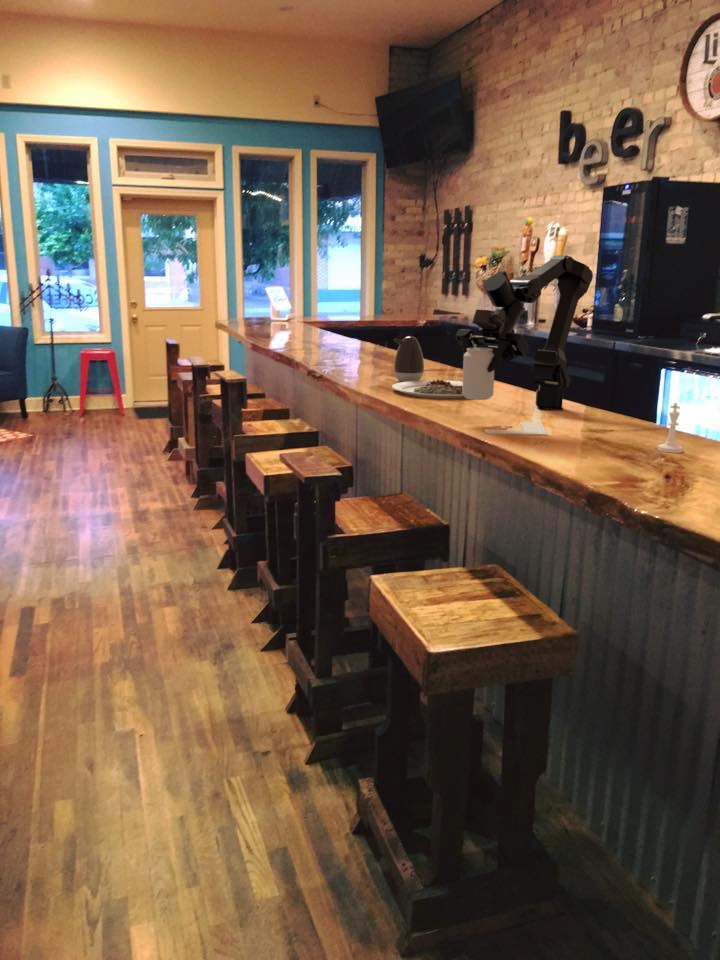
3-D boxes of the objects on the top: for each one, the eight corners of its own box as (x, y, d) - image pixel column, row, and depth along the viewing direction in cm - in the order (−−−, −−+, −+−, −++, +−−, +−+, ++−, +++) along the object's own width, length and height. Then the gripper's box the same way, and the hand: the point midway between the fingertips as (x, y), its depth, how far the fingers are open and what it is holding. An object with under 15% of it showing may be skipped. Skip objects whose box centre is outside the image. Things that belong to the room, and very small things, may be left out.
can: (478, 401, 183) (481, 350, 180) (455, 397, 189) (457, 347, 185) (499, 398, 188) (502, 348, 185) (476, 394, 193) (478, 345, 190)
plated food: (418, 403, 220) (418, 391, 219) (376, 388, 247) (376, 377, 246) (508, 398, 231) (509, 386, 230) (459, 384, 258) (459, 374, 257)
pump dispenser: (389, 379, 264) (390, 334, 260) (419, 379, 266) (420, 334, 262) (396, 384, 254) (397, 337, 250) (427, 383, 256) (428, 337, 252)
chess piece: (662, 446, 167) (667, 400, 164) (685, 449, 164) (691, 403, 161) (654, 450, 163) (659, 403, 160) (678, 453, 160) (684, 406, 157)
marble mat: (540, 424, 190) (540, 422, 190) (547, 435, 176) (547, 434, 176) (482, 422, 191) (482, 420, 191) (485, 433, 178) (485, 432, 178)
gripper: (460, 295, 191) (430, 344, 186) (525, 298, 178) (494, 350, 174) (478, 326, 198) (450, 373, 194) (541, 331, 186) (512, 381, 181)
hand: (475, 369), depth 185 cm, fingers closed on can, 7 cm apart
